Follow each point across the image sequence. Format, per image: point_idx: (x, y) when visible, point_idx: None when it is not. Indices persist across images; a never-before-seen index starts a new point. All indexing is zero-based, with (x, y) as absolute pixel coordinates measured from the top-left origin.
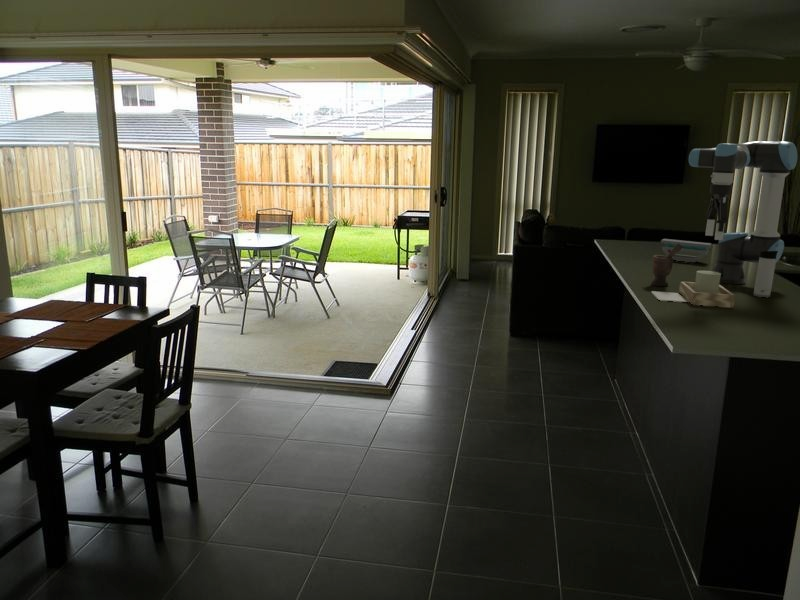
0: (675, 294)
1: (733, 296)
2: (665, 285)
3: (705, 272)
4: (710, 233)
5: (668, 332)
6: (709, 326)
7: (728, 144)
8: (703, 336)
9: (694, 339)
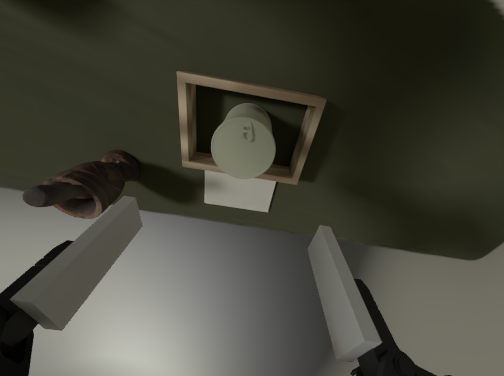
0: (220, 173)
1: (324, 102)
2: (134, 161)
3: (240, 158)
4: (129, 217)
5: (428, 251)
6: (426, 201)
7: None
8: (463, 226)
9: (467, 239)
